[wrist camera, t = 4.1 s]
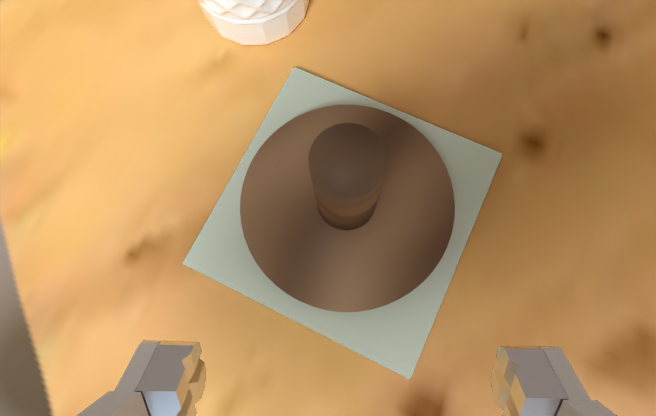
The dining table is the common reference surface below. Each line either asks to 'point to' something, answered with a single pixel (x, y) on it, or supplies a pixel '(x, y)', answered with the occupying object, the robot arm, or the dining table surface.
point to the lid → (347, 208)
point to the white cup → (254, 19)
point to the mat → (365, 326)
